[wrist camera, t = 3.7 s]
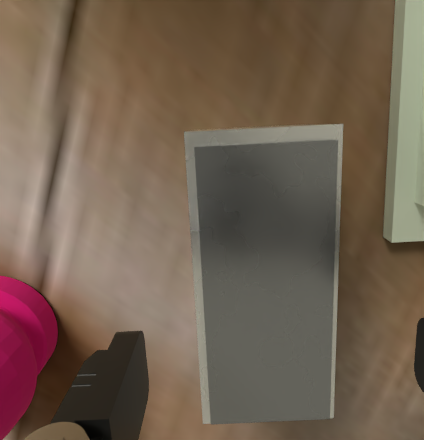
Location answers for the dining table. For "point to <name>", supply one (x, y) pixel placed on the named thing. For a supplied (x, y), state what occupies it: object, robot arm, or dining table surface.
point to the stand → (406, 127)
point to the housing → (265, 269)
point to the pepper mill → (22, 347)
